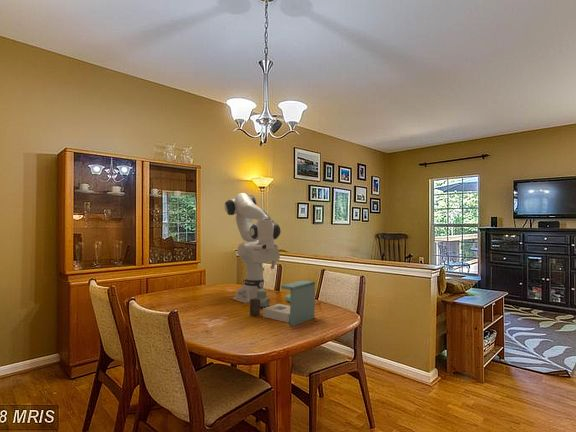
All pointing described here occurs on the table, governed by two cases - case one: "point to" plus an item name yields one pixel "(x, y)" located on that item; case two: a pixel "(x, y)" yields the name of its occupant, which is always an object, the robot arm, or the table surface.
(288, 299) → the mint green bar
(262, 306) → the air freshener
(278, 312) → the socket block
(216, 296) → the table surface
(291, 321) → the teal stepped panel
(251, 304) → the peg
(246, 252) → the robot arm
